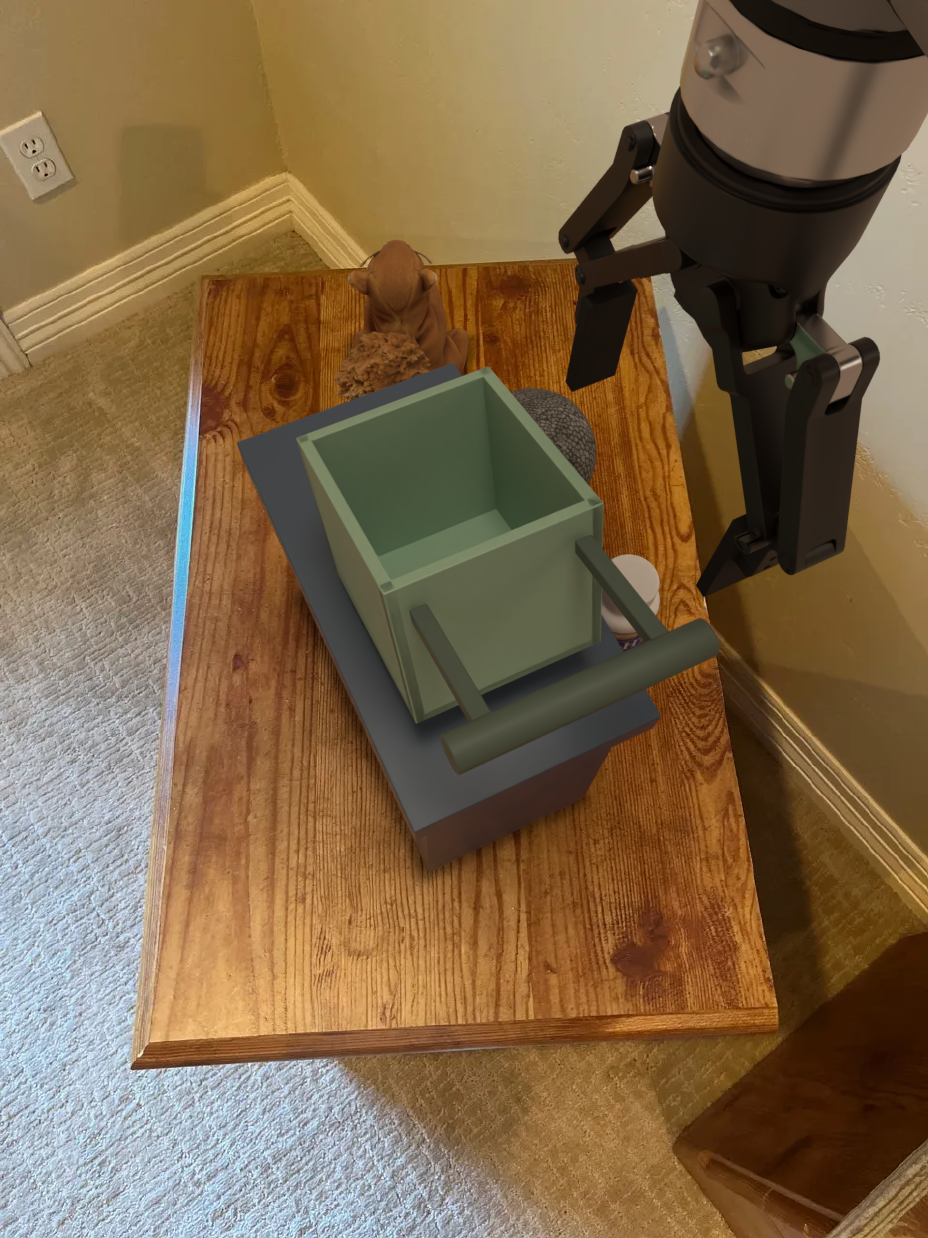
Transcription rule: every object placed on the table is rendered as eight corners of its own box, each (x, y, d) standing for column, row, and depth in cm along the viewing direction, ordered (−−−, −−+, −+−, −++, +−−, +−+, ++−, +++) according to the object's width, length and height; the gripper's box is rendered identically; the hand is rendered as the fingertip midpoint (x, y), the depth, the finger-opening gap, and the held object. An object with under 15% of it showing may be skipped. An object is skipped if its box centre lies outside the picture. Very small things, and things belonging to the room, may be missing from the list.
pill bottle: (598, 675, 71) (619, 628, 63) (561, 620, 73) (576, 566, 65) (656, 643, 72) (684, 592, 64) (618, 589, 74) (640, 533, 66)
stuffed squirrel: (470, 333, 84) (475, 214, 72) (453, 467, 78) (455, 362, 66) (359, 322, 84) (345, 202, 72) (333, 455, 79) (314, 348, 66)
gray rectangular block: (601, 805, 67) (662, 716, 49) (421, 893, 64) (413, 833, 46) (450, 525, 76) (454, 361, 58) (286, 591, 73) (236, 441, 55)
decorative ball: (594, 538, 76) (616, 469, 67) (470, 547, 75) (474, 478, 66) (577, 434, 80) (595, 355, 71) (459, 442, 79) (461, 363, 70)
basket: (700, 759, 42) (724, 626, 35) (477, 867, 40) (453, 750, 33) (509, 502, 53) (497, 362, 46) (328, 576, 51) (285, 441, 44)
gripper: (508, -83, 34) (482, 326, 53) (938, 455, 25) (719, 710, 44) (688, -133, 35) (599, 283, 55) (1154, 359, 26) (851, 647, 46)
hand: (653, 475), depth 50 cm, fingers open, 13 cm apart
